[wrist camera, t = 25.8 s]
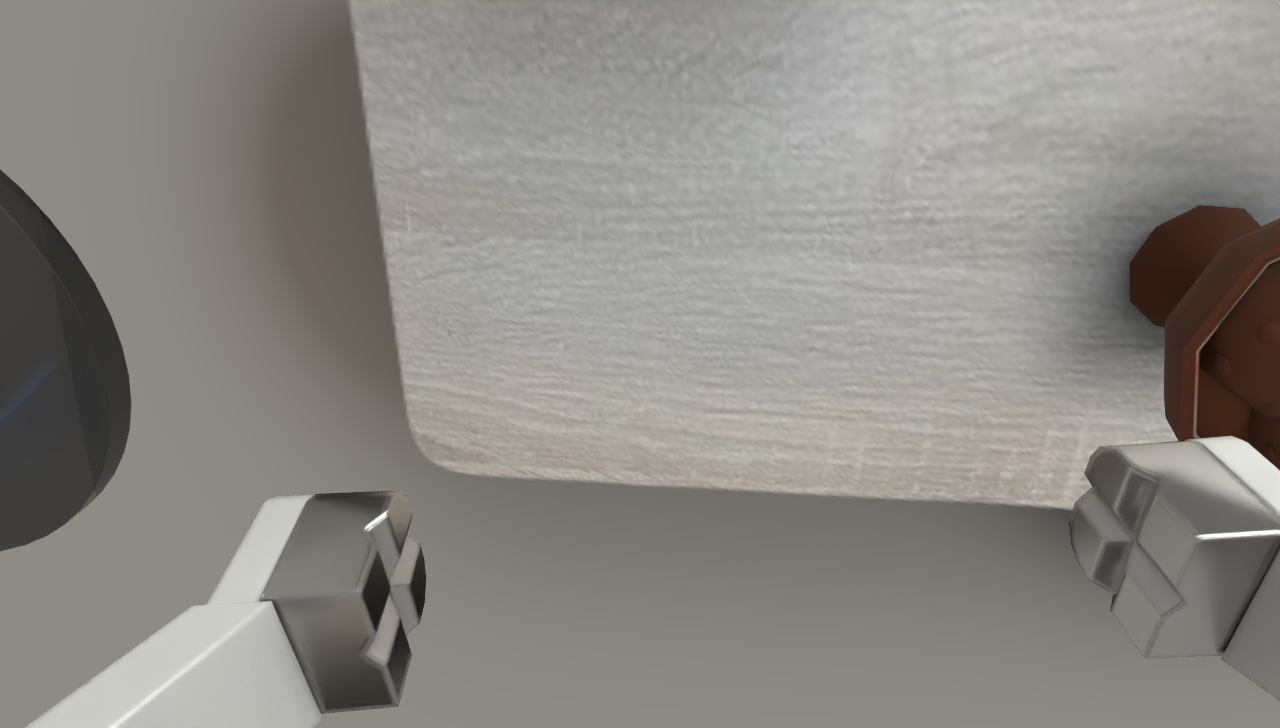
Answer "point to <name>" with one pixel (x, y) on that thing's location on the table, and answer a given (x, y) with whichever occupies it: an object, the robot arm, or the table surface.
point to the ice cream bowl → (1216, 323)
